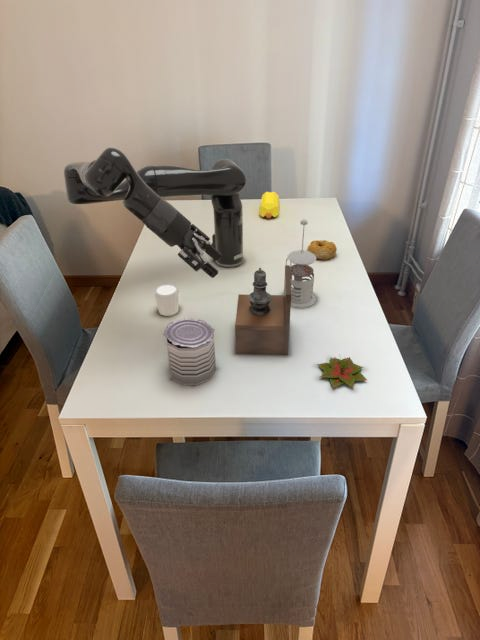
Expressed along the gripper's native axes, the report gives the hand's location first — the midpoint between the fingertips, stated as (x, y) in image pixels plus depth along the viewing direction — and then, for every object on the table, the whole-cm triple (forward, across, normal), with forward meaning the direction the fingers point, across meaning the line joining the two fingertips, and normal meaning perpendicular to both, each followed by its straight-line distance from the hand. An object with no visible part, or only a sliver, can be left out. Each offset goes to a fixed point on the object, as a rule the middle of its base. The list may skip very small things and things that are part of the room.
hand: (217, 266), depth 119 cm
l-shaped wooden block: (+22, +2, -7) cm, 23 cm away
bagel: (+36, -47, +7) cm, 60 cm away
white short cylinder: (+3, -11, -26) cm, 28 cm away
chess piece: (+16, +1, -1) cm, 16 cm away
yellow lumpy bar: (+24, -84, -6) cm, 87 cm away
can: (+11, +15, -18) cm, 26 cm away
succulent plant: (+36, +15, +7) cm, 40 cm away
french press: (+30, -19, 0) cm, 35 cm away
